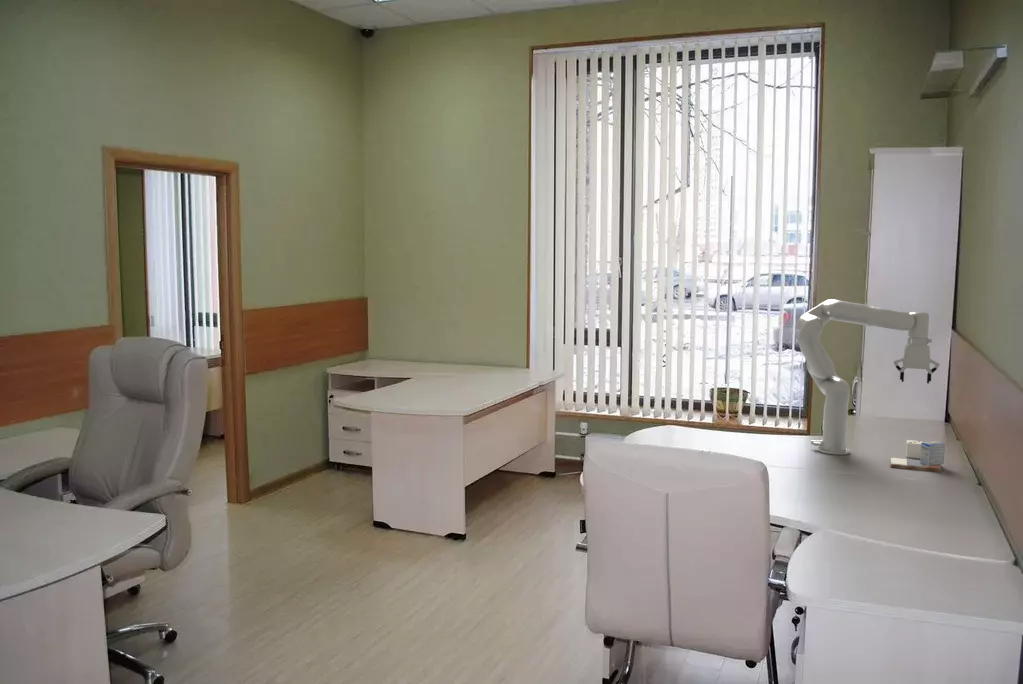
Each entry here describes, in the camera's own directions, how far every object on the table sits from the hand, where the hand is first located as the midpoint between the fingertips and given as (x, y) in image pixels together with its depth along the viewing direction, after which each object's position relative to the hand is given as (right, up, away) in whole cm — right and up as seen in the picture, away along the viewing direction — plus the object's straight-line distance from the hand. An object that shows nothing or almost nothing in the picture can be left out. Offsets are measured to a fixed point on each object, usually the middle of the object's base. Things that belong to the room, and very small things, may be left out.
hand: (915, 382), depth 358 cm
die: (-1, -31, -1) cm, 31 cm away
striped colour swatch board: (-8, -33, -17) cm, 37 cm away
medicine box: (-2, -32, -19) cm, 37 cm away
